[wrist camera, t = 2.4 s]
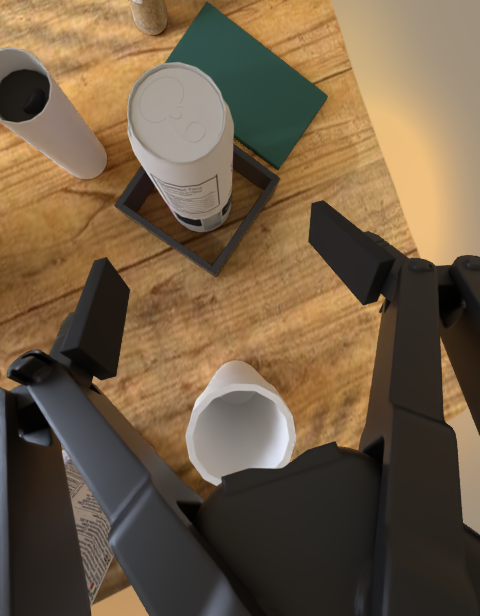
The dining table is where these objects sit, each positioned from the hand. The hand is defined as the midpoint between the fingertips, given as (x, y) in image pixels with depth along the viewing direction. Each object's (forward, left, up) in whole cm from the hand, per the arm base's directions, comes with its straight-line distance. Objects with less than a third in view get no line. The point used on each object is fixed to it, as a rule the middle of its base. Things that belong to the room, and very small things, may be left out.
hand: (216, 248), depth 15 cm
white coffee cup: (-24, +3, -17) cm, 29 cm away
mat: (-12, +23, -17) cm, 31 cm away
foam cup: (+10, -11, -17) cm, 23 cm away
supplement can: (-8, +7, -17) cm, 20 cm away
